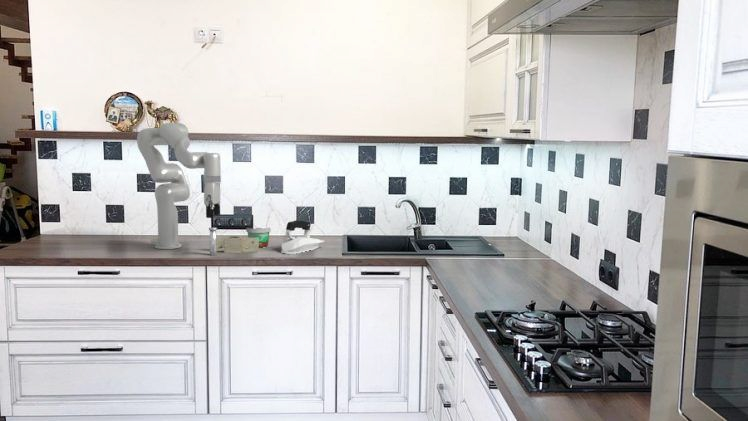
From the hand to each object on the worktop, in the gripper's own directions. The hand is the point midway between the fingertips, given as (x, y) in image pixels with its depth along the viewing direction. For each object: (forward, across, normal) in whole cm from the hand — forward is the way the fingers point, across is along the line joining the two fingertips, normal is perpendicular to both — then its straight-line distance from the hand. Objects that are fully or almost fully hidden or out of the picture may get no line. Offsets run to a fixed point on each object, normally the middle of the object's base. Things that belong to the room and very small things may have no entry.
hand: (213, 216), depth 302 cm
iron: (+19, -19, +37) cm, 46 cm away
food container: (+19, -22, +15) cm, 33 cm away
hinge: (+18, -10, +6) cm, 22 cm away
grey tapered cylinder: (+18, 0, -1) cm, 18 cm away
